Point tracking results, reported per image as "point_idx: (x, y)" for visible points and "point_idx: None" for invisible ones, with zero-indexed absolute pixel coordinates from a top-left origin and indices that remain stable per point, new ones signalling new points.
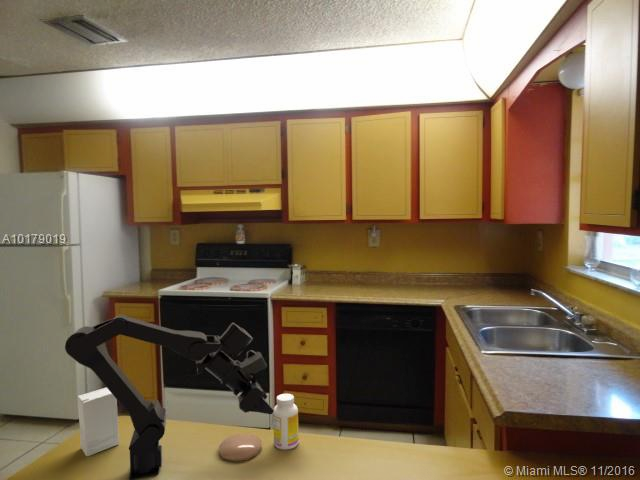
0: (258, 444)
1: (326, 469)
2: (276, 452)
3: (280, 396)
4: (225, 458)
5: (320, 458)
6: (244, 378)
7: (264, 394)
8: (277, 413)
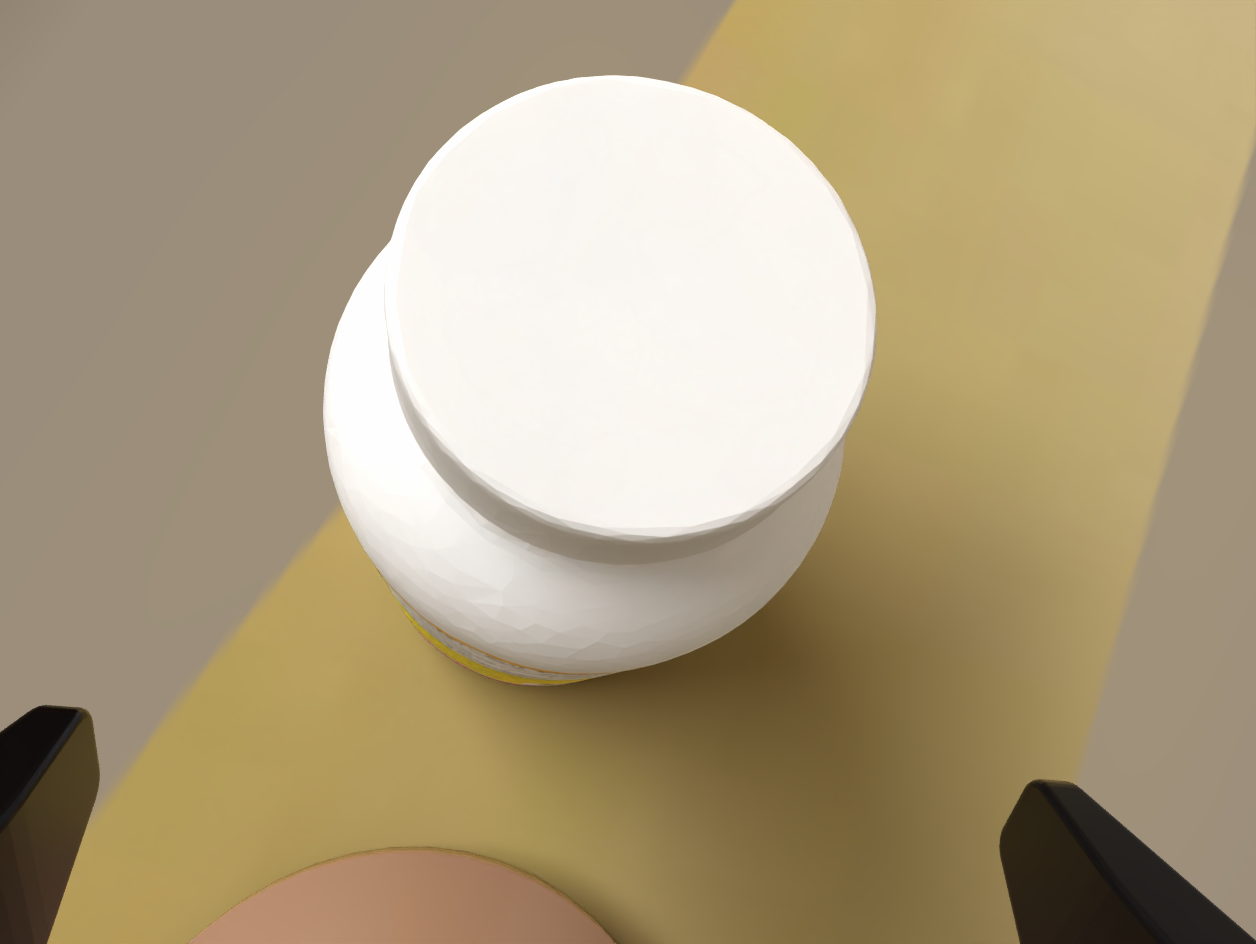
0: (503, 917)
1: (1125, 330)
2: (668, 700)
3: (539, 399)
4: None
5: (946, 304)
6: None
7: (39, 815)
8: (730, 621)
